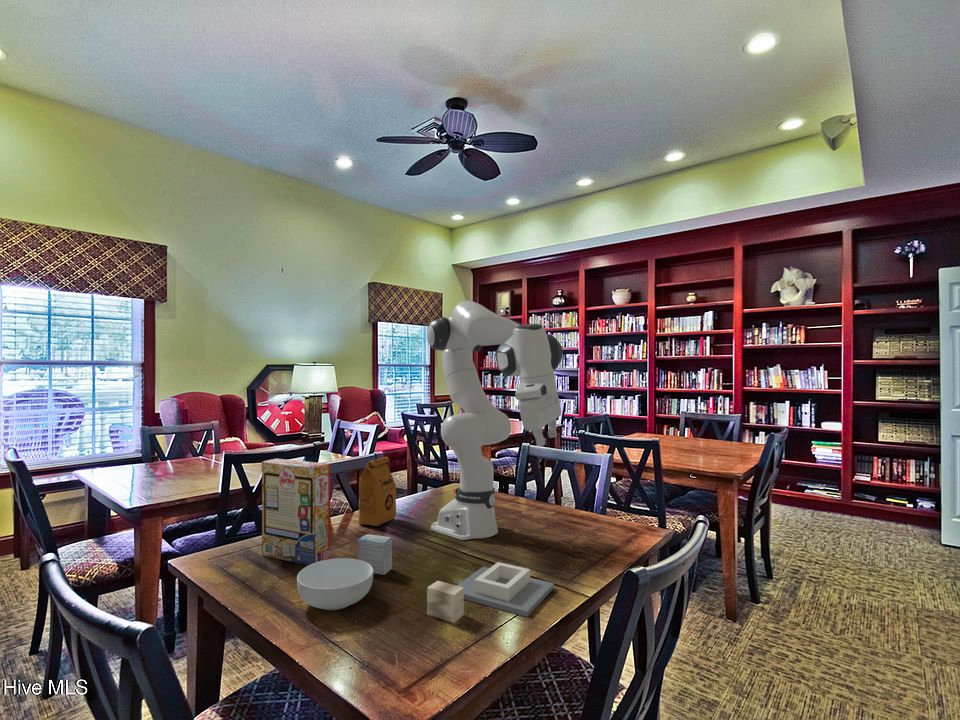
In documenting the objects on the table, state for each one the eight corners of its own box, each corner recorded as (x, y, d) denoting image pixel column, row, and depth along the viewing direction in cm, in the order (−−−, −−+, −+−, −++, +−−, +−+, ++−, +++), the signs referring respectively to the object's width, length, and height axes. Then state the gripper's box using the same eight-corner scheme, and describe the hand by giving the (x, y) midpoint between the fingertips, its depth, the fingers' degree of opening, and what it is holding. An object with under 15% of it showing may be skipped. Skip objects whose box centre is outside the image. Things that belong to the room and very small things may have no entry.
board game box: (331, 560, 140) (331, 463, 140) (315, 568, 134) (315, 467, 134) (277, 548, 148) (277, 457, 148) (259, 556, 143) (260, 461, 143)
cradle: (450, 595, 119) (450, 577, 119) (482, 571, 133) (482, 555, 133) (527, 616, 109) (527, 597, 109) (553, 588, 123) (553, 571, 123)
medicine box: (392, 569, 134) (392, 536, 134) (383, 576, 130) (384, 542, 130) (366, 565, 137) (366, 533, 137) (357, 571, 132) (357, 538, 132)
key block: (427, 614, 110) (427, 587, 110) (437, 607, 114) (437, 580, 114) (453, 623, 107) (454, 595, 107) (463, 614, 110) (463, 587, 110)
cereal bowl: (299, 627, 105) (299, 593, 105) (294, 593, 120) (294, 564, 120) (380, 611, 111) (380, 580, 111) (365, 581, 127) (366, 553, 127)
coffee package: (400, 519, 176) (401, 456, 176) (377, 529, 165) (377, 463, 165) (378, 515, 181) (379, 454, 181) (354, 525, 170) (354, 460, 170)
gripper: (540, 383, 137) (548, 433, 137) (512, 394, 119) (521, 451, 119) (562, 380, 135) (570, 431, 135) (537, 391, 116) (546, 449, 116)
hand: (547, 441), depth 127 cm, fingers open, 8 cm apart
